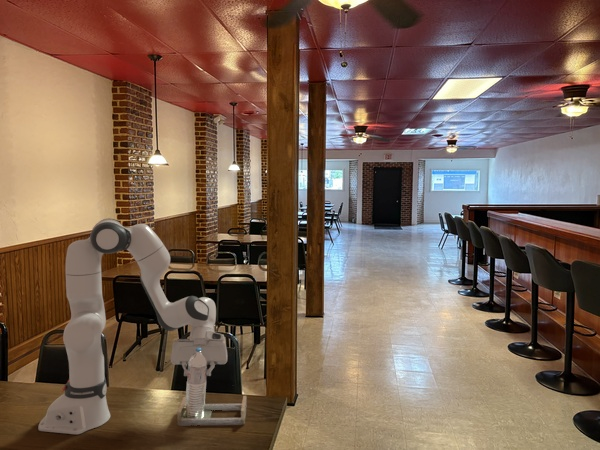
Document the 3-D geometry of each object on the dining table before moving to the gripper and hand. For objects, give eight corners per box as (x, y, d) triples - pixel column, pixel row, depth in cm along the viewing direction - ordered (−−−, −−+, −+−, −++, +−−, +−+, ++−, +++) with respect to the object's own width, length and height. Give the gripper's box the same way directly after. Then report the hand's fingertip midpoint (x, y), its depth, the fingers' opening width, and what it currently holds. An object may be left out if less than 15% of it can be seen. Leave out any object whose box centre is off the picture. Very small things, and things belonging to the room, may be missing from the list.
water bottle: (200, 422, 157) (204, 353, 155) (181, 419, 158) (185, 350, 156) (206, 412, 164) (211, 346, 162) (188, 409, 165) (192, 344, 162)
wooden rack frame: (177, 425, 155) (177, 411, 154) (184, 409, 166) (184, 396, 166) (244, 424, 156) (244, 411, 156) (246, 408, 167) (246, 395, 167)
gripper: (172, 335, 165) (165, 372, 156) (228, 335, 166) (225, 371, 157) (174, 342, 169) (169, 378, 161) (229, 342, 171) (226, 378, 162)
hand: (197, 375), depth 159 cm, fingers open, 6 cm apart
